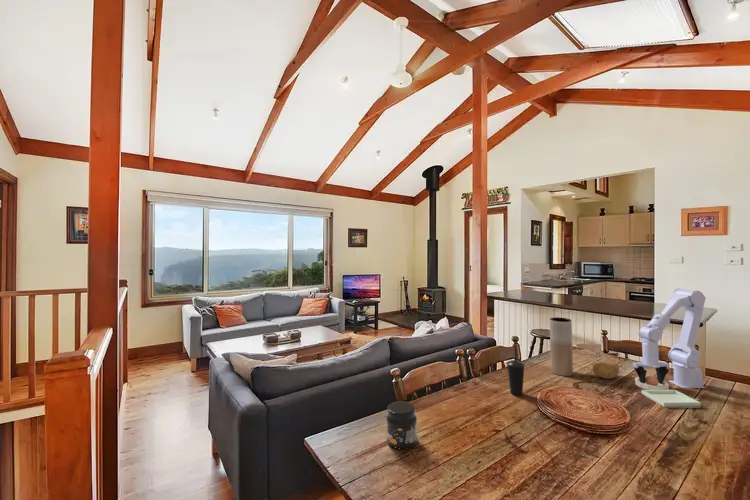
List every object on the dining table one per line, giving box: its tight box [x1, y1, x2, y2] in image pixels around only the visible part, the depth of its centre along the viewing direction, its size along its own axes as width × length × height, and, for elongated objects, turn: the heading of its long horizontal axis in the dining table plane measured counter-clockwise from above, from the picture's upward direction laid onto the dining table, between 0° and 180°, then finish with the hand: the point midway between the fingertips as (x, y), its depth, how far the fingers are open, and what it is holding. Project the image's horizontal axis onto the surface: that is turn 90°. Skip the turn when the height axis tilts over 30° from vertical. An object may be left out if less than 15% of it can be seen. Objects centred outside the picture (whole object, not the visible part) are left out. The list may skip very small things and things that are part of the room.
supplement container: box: [385, 400, 418, 450], centre depth 114 cm, size 10×10×12 cm
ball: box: [645, 374, 658, 386], centre depth 151 cm, size 5×5×5 cm
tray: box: [641, 389, 702, 409], centre depth 138 cm, size 14×12×2 cm
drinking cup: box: [506, 348, 526, 397], centre depth 148 cm, size 8×8×20 cm
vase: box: [549, 316, 574, 377], centre depth 171 cm, size 10×10×28 cm
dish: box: [634, 376, 670, 390], centre depth 151 cm, size 12×12×2 cm
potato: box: [592, 360, 620, 380], centre depth 163 cm, size 10×14×8 cm
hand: (651, 383), depth 151 cm, fingers open, 7 cm apart
